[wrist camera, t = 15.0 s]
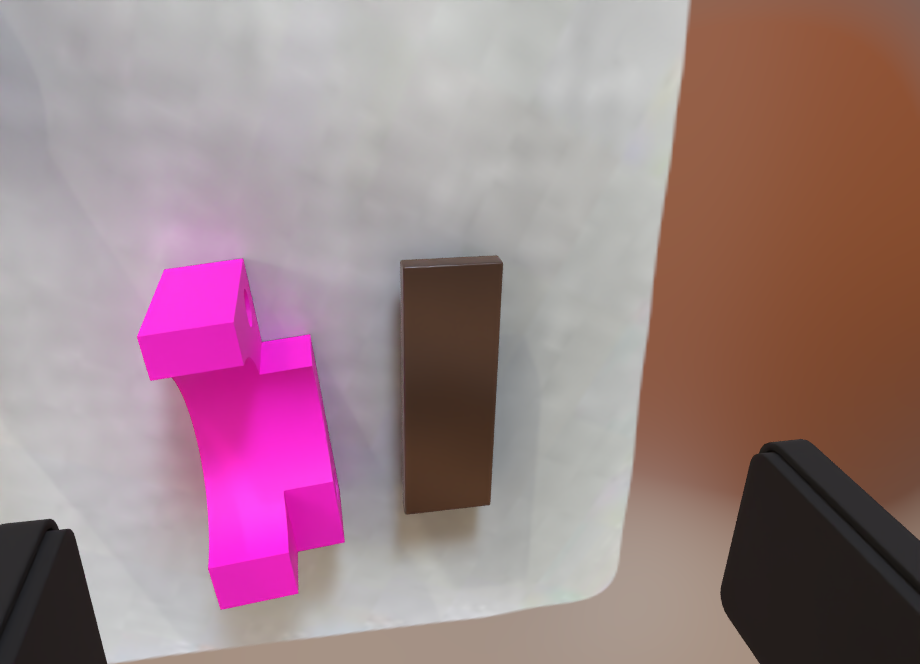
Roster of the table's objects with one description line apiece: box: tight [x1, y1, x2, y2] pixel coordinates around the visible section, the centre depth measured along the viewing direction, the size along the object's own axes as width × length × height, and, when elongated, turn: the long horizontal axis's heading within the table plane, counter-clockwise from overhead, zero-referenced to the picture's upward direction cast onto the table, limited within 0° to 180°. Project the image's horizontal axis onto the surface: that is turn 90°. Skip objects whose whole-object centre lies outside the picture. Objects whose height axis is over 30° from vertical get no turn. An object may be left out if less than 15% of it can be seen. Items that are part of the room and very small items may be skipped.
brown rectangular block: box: [400, 256, 503, 514], centre depth 41 cm, size 15×5×3 cm, turn 179°
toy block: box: [137, 258, 345, 610], centre depth 37 cm, size 15×6×8 cm, turn 5°
